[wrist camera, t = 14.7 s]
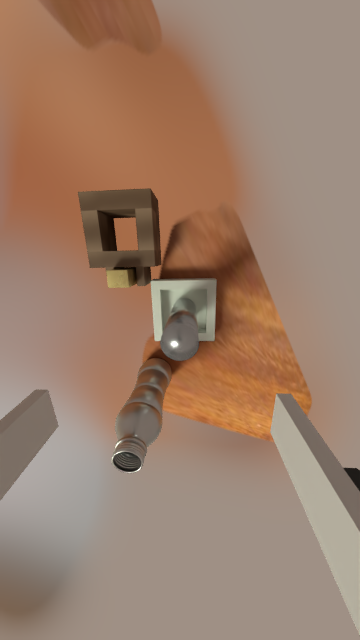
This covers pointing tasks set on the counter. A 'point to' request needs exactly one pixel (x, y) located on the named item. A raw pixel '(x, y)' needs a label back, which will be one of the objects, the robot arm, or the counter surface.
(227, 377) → the counter surface
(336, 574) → the robot arm
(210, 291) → the tray
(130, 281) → the brass block
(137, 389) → the plastic bottle
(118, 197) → the socket block
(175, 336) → the grey metal peg
